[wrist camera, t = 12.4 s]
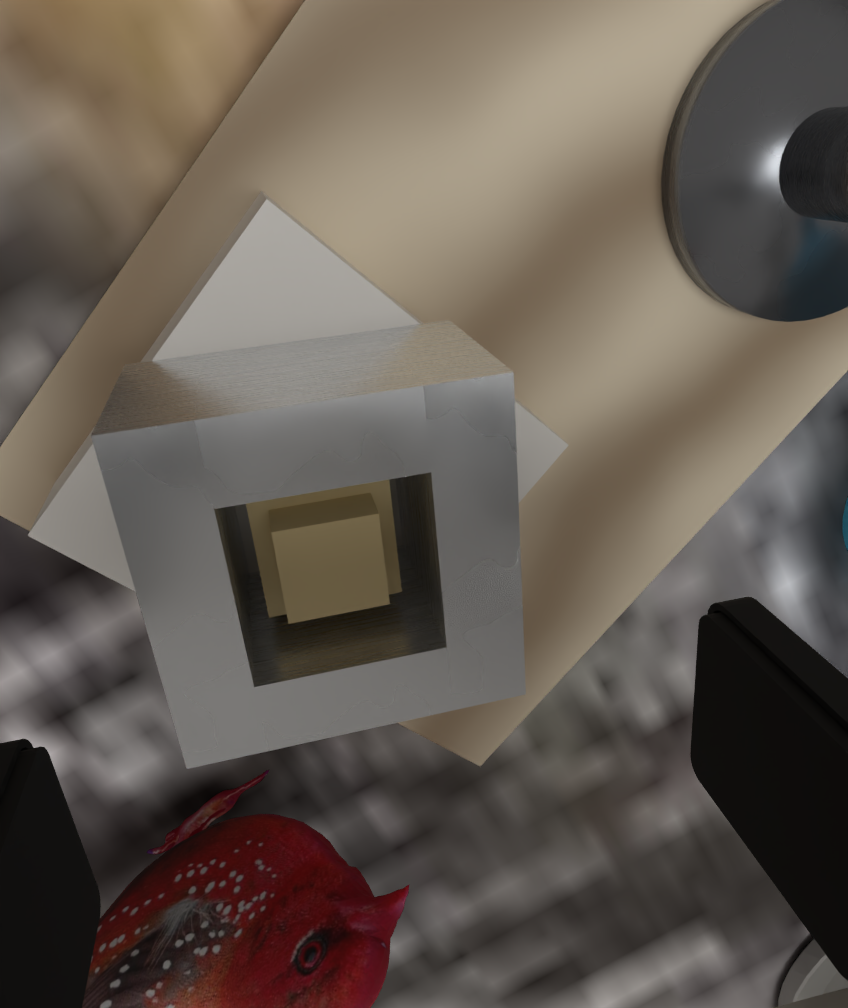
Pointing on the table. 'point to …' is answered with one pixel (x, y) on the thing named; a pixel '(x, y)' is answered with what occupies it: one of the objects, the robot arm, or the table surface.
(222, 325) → the block
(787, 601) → the table surface
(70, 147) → the table surface
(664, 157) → the rod stand
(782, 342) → the board
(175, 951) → the decorative bird figurine
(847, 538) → the perfume bottle
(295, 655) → the steel collar
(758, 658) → the robot arm
